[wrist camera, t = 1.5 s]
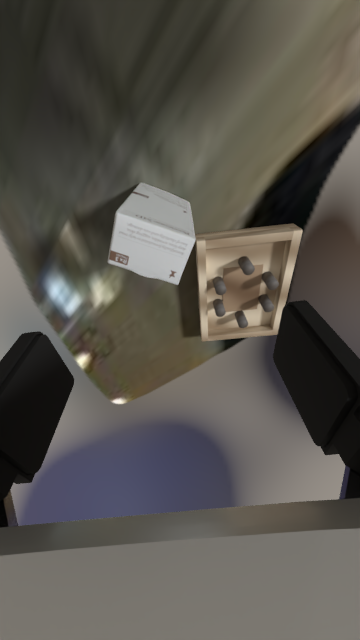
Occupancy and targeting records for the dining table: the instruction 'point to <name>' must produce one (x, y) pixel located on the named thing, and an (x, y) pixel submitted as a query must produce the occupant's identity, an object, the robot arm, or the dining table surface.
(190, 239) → the skincare box
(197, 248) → the pin tray
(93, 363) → the dining table surface
